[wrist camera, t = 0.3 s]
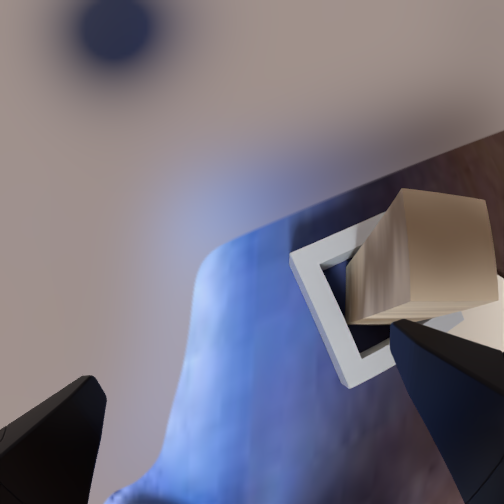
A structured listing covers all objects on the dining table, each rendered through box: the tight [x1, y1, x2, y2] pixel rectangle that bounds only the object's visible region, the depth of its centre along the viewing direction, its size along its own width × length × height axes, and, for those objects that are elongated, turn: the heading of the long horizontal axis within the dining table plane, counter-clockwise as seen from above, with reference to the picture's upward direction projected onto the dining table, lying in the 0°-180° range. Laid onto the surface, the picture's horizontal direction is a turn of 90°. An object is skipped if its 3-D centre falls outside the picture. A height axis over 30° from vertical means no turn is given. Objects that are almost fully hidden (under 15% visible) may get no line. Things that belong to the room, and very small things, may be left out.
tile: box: [446, 275, 504, 352], centre depth 19 cm, size 10×10×1 cm
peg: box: [345, 188, 499, 325], centre depth 16 cm, size 4×4×12 cm
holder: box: [289, 212, 464, 389], centre depth 20 cm, size 10×10×3 cm
